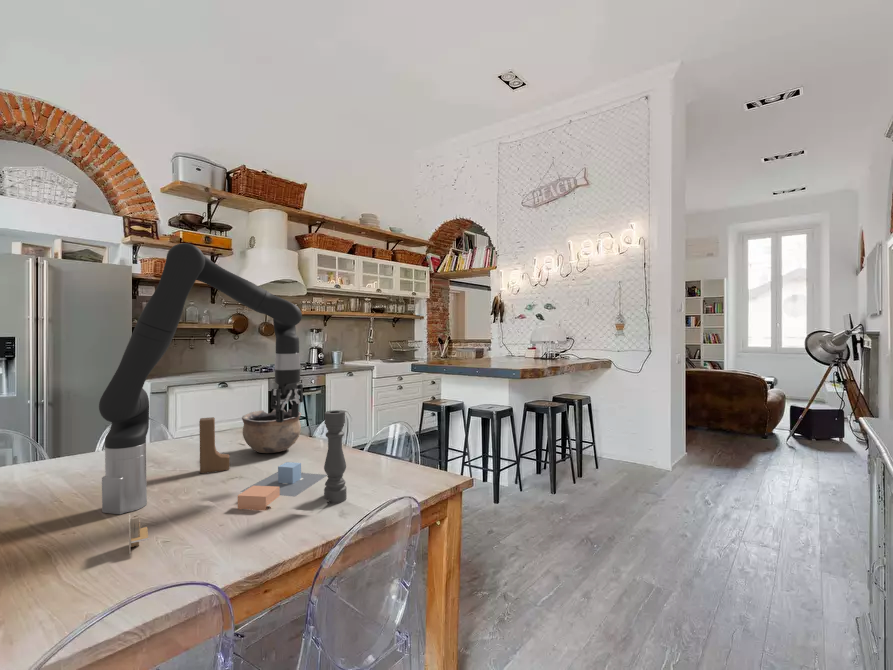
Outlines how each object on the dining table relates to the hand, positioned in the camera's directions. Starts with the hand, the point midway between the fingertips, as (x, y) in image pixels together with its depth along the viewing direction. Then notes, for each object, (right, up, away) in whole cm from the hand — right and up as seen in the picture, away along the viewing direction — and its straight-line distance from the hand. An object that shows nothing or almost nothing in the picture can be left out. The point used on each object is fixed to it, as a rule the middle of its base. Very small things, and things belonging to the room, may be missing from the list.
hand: (287, 419), depth 146 cm
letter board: (0, -20, -2) cm, 20 cm away
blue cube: (+1, -19, 0) cm, 19 cm away
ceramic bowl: (-19, -20, +39) cm, 48 cm away
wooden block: (-30, -20, +15) cm, 39 cm away
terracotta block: (-2, -21, -16) cm, 27 cm away
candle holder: (+18, -21, -13) cm, 30 cm away
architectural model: (-20, -22, -42) cm, 51 cm away
